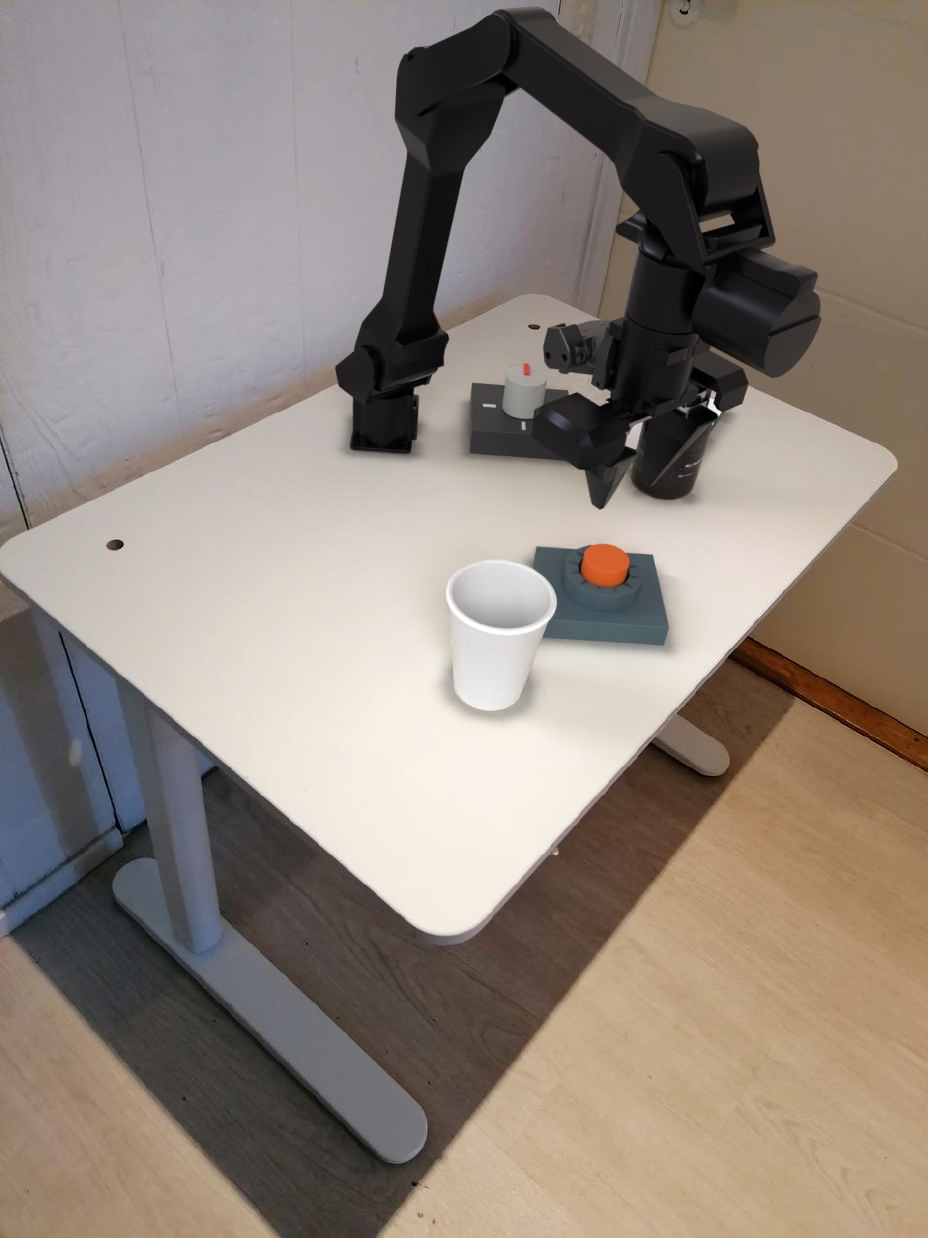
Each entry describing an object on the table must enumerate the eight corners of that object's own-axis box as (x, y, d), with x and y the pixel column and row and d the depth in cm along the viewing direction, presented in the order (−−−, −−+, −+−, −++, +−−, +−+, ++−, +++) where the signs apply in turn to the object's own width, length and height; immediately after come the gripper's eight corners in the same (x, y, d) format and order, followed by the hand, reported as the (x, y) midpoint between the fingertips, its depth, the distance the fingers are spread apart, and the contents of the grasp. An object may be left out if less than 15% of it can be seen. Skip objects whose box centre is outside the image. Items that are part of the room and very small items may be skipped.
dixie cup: (559, 700, 79) (579, 609, 72) (473, 738, 75) (486, 646, 68) (501, 636, 84) (515, 546, 77) (417, 669, 80) (425, 577, 73)
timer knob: (543, 420, 105) (548, 384, 102) (502, 417, 104) (507, 381, 102) (541, 399, 108) (546, 364, 105) (501, 396, 108) (506, 361, 105)
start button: (582, 586, 84) (586, 570, 83) (578, 557, 87) (582, 541, 86) (628, 589, 84) (632, 573, 83) (622, 560, 87) (626, 544, 86)
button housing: (538, 637, 84) (545, 603, 81) (533, 564, 91) (539, 530, 89) (663, 645, 85) (674, 612, 82) (648, 572, 92) (657, 538, 89)
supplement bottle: (692, 507, 100) (722, 407, 92) (627, 495, 101) (650, 395, 93) (695, 469, 105) (723, 371, 97) (632, 458, 106) (654, 360, 97)
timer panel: (469, 453, 104) (472, 428, 102) (469, 405, 112) (472, 380, 109) (570, 461, 105) (575, 436, 103) (564, 412, 112) (568, 388, 110)
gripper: (666, 250, 78) (627, 419, 89) (493, 300, 69) (473, 482, 79) (777, 304, 73) (722, 477, 83) (605, 367, 63) (567, 554, 73)
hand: (622, 494), depth 80 cm, fingers open, 6 cm apart
